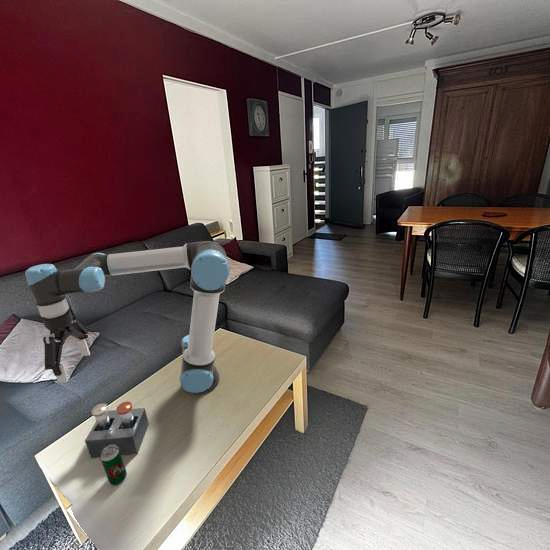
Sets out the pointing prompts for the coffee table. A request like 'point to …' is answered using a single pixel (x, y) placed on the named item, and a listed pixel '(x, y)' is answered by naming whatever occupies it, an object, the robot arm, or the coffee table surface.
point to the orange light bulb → (126, 414)
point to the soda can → (113, 464)
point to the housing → (118, 434)
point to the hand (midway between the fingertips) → (75, 367)
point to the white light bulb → (101, 416)
